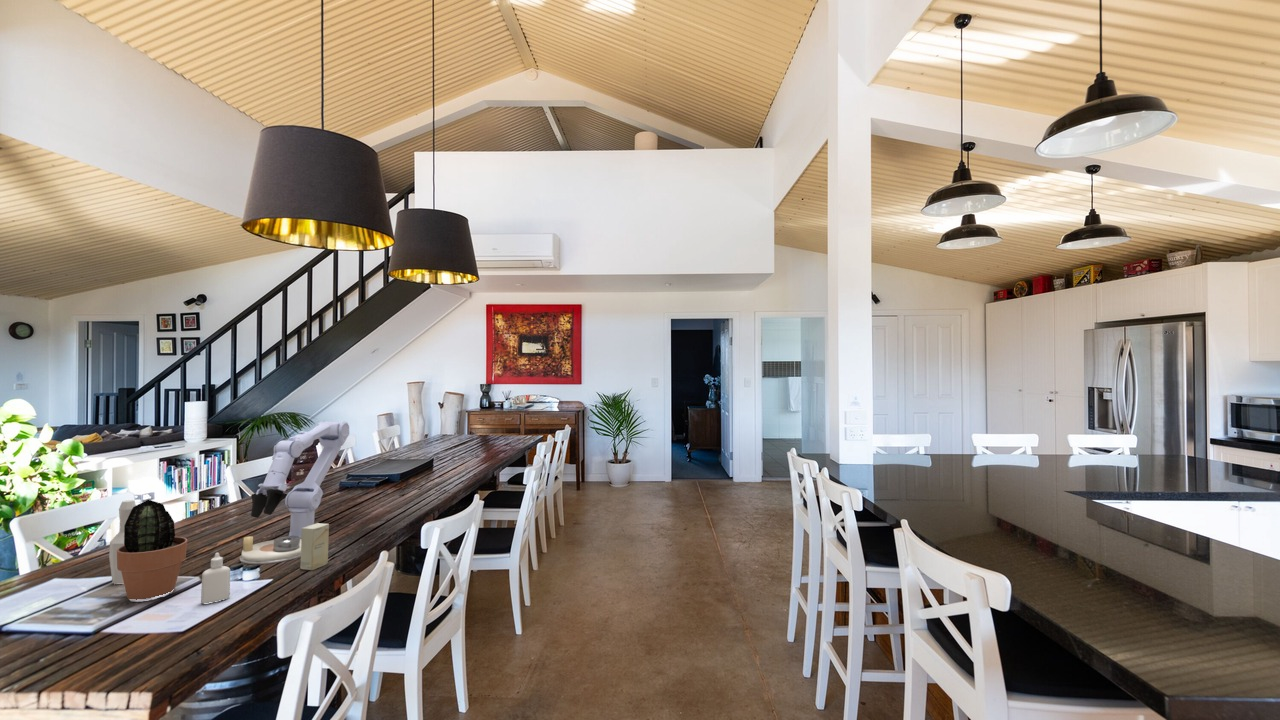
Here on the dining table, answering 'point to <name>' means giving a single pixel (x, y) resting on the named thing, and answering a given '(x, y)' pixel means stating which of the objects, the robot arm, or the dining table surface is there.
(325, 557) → the skincare box
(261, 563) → the turntable base
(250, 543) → the disc
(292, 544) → the cover
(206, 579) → the eye dropper bottle
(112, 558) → the faceted bottle
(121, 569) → the potted plant
